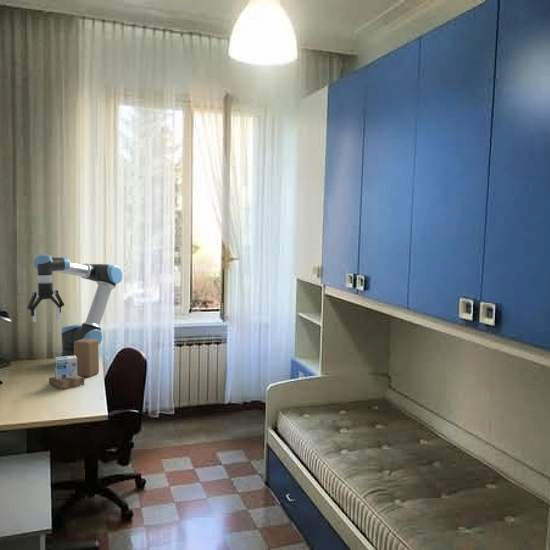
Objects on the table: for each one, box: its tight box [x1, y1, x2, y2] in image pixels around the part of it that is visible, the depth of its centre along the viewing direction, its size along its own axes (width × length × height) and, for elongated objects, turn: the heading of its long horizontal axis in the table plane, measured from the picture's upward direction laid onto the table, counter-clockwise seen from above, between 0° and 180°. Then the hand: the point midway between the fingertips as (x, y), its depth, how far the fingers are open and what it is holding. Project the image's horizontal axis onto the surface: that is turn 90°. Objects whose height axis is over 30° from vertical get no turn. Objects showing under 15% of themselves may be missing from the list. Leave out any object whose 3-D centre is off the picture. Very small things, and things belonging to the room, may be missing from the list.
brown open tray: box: [48, 375, 85, 391], centre depth 301 cm, size 13×13×4 cm
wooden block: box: [74, 338, 100, 378], centre depth 322 cm, size 10×10×20 cm
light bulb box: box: [54, 355, 77, 380], centre depth 301 cm, size 11×7×11 cm, turn 118°
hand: (46, 320), depth 317 cm, fingers open, 13 cm apart
